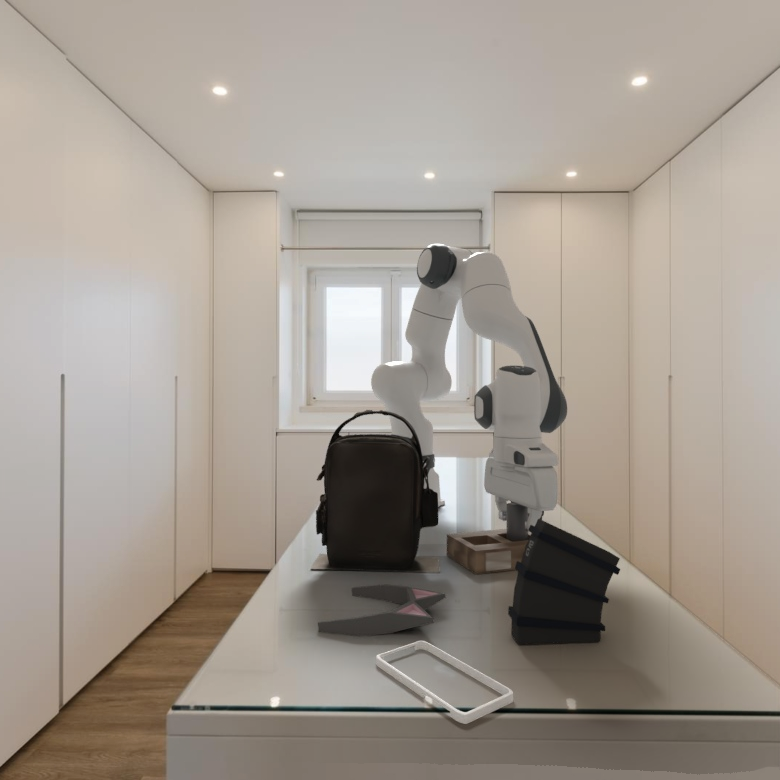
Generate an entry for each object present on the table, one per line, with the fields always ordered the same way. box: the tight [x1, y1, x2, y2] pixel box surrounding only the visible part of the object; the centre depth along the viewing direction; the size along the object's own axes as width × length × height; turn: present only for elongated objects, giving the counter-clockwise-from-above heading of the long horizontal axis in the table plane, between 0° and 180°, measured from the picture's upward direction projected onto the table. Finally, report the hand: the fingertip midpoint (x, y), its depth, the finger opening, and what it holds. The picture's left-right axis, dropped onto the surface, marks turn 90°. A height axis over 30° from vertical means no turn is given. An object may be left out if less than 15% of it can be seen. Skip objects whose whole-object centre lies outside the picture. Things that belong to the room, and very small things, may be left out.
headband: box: [317, 584, 447, 637], centre depth 79 cm, size 14×3×15 cm
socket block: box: [446, 528, 531, 575], centre depth 105 cm, size 12×16×4 cm
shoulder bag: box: [310, 409, 441, 574], centre depth 103 cm, size 23×9×28 cm, turn 87°
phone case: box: [375, 640, 514, 725], centre depth 62 cm, size 7×1×15 cm
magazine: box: [507, 519, 621, 646], centre depth 72 cm, size 4×13×15 cm, turn 95°
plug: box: [506, 502, 528, 542], centre depth 107 cm, size 4×4×10 cm
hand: (517, 525), depth 107 cm, fingers open, 8 cm apart
